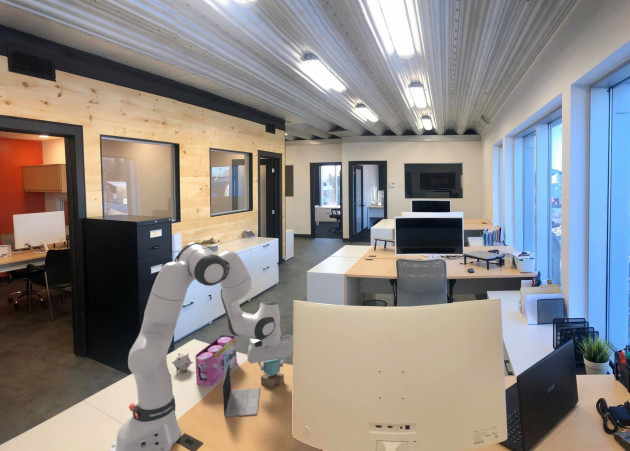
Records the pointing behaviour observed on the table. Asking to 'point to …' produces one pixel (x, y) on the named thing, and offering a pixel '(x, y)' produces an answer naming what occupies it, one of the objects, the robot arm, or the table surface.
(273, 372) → the teal cube
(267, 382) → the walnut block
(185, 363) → the grey spiked polyhedron
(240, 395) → the laptop
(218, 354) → the gum box
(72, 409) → the table surface
